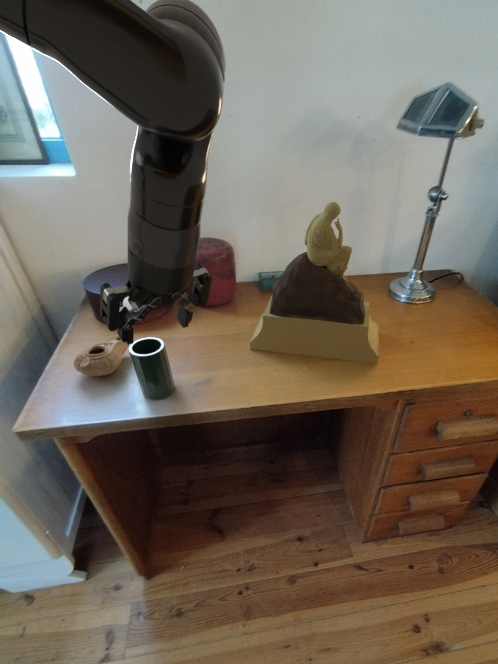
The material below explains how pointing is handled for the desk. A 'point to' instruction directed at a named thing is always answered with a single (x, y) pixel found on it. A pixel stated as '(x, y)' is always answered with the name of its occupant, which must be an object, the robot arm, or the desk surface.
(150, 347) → the pot
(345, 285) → the seated thinker statue
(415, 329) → the desk surface
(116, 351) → the pottery oil lamp
